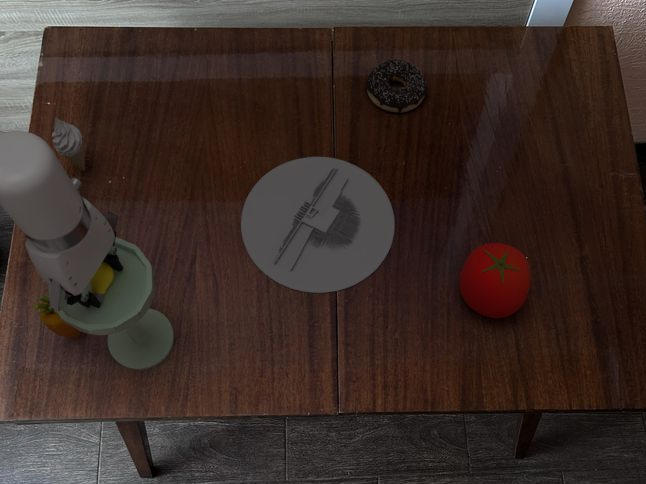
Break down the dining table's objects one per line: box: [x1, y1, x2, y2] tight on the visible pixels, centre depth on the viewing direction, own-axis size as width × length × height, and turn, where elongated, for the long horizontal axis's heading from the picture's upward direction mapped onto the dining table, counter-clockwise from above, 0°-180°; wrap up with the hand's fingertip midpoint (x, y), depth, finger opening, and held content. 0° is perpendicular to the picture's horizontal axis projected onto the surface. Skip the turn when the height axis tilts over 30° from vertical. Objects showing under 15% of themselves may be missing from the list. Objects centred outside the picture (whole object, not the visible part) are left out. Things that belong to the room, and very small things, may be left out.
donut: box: [364, 58, 428, 114], centre depth 135 cm, size 11×12×4 cm
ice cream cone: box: [51, 116, 86, 172], centre depth 122 cm, size 5×5×15 cm
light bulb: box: [90, 262, 114, 303], centre depth 96 cm, size 3×6×4 cm, turn 174°
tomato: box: [459, 242, 532, 319], centre depth 117 cm, size 13×11×14 cm
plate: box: [240, 156, 396, 294], centre depth 126 cm, size 28×28×1 cm
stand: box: [107, 308, 175, 371], centre depth 108 cm, size 11×11×21 cm
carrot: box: [33, 295, 81, 339], centre depth 111 cm, size 5×5×15 cm
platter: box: [48, 236, 157, 336], centre depth 97 cm, size 14×14×2 cm
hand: (101, 283), depth 97 cm, fingers closed on light bulb, 5 cm apart
